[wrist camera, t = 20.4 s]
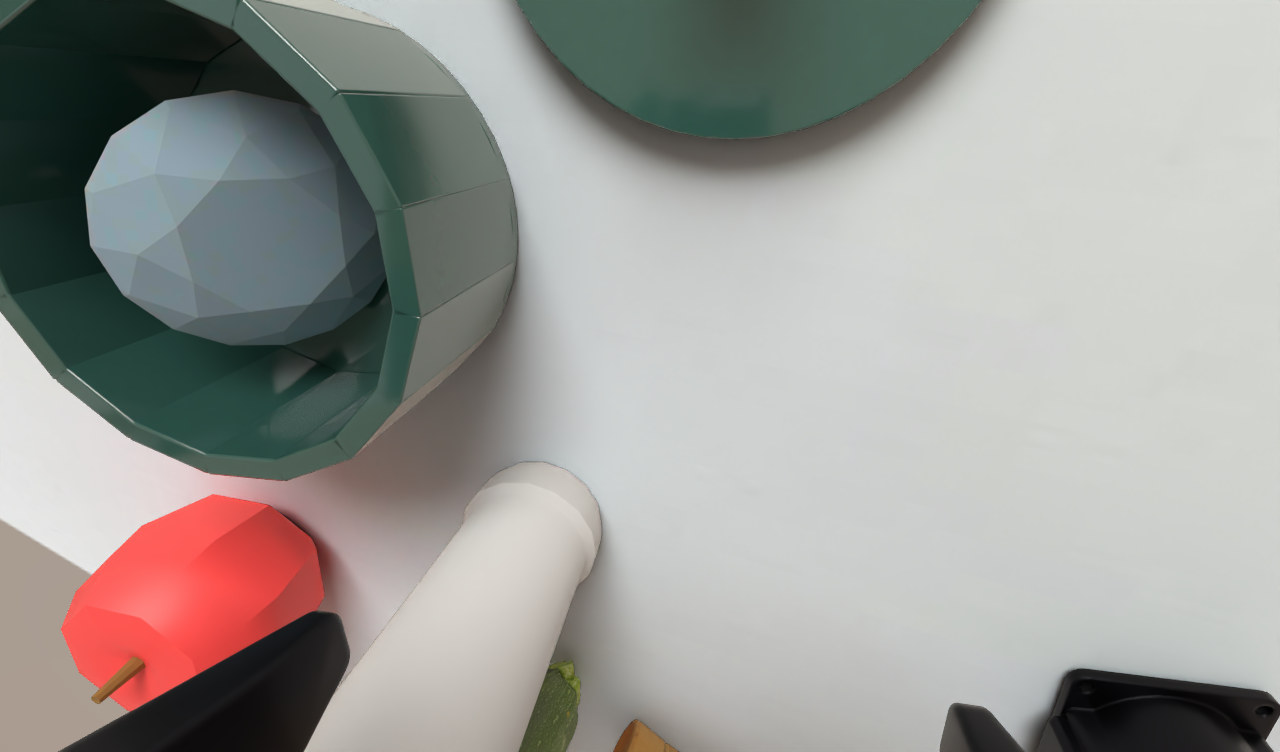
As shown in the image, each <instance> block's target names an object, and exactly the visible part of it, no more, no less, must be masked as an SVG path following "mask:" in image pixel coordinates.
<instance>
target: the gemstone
mask: <svg viewBox="0 0 1280 752" xmlns="http://www.w3.org/2000/svg"><path fill="white" fill-rule="evenodd" d="M85 198H86V208H87V218H88V228H89V238H90V246H91V248H92V249H93V251H94V252H95V254H96V255H97V257H98V258H99V260H100V261H101V263H102V264H103V266H104V267H105V269H106V270H107V272H108V273H109V275H110V276H111V278H112V279H113V281H114V282H115V284H116V285H117V287H118V288H119V290H120V291H121V293H122V294H123V295H124V296H125V297H127V298H128V299H130V300H131V301H133V302H134V303H135V304H137V305H138V306H140V307H141V308H143V309H144V310H146V311H147V312H149V313H150V314H152V315H153V316H155V317H156V318H158V319H159V320H161V321H162V322H163V323H165V324H166V325H168V326H169V327H171V328H172V329H174V330H178V331H181V332H185V333H188V334H192V335H195V336H199V337H202V338H206V339H209V340H213V341H216V342H220V343H223V344H227V345H230V346H233V345H287V344H290V343H293V342H296V341H299V340H302V339H305V338H308V337H312V336H315V335H318V334H321V333H324V332H327V331H330V330H333V329H335V328H336V327H338V326H339V325H340V324H342V323H343V322H344V321H346V320H347V319H348V318H350V317H351V316H353V315H354V314H355V313H357V312H358V311H359V310H361V309H362V308H363V307H365V306H366V305H367V304H369V303H370V302H371V301H372V299H373V298H374V296H375V294H376V293H377V291H378V290H379V288H380V286H381V285H382V283H383V281H384V280H385V278H386V272H385V266H384V261H383V256H382V250H381V245H380V240H379V234H378V229H377V224H376V218H375V213H374V211H373V210H372V208H371V206H370V204H369V202H368V201H367V199H366V197H365V195H364V193H363V192H362V190H361V188H360V186H359V184H358V183H357V181H356V179H355V177H354V175H353V174H352V172H351V170H350V168H349V166H348V165H347V163H346V161H345V159H344V157H343V156H342V154H341V152H340V150H339V148H338V146H337V145H336V143H335V141H334V139H333V137H332V136H331V134H330V132H329V130H328V128H327V127H326V125H325V123H324V121H323V119H322V118H321V116H319V115H318V114H316V113H314V112H313V111H311V110H309V109H308V108H306V107H304V106H303V105H301V104H298V103H294V102H289V101H284V100H279V99H274V98H270V97H265V96H260V95H255V94H250V93H246V92H241V91H236V90H230V91H224V92H217V93H211V94H204V95H198V96H191V97H185V98H179V99H172V100H166V101H164V102H162V103H161V104H159V105H158V106H156V107H155V108H153V109H152V110H150V111H149V112H147V113H145V114H144V115H142V116H141V117H139V118H138V119H136V120H135V121H133V122H132V123H130V124H129V125H127V126H126V127H124V128H123V129H121V130H119V131H118V132H116V133H115V134H113V135H112V136H111V137H110V139H109V141H108V143H107V145H106V147H105V149H104V151H103V153H102V155H101V157H100V159H99V161H98V163H97V165H96V167H95V169H94V171H93V173H92V175H91V177H90V179H89V181H88V183H87V185H86V187H85Z"/></svg>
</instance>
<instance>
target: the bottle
mask: <svg viewBox="0 0 1280 752" xmlns="http://www.w3.org/2000/svg"><path fill="white" fill-rule="evenodd" d="M601 536H602V526H601V519H600V512H599V506H598V503H597V502H596V500H595V498H594V497H593V495H592V494H591V492H590V490H589V489H588V487H587V486H586V485H585V484H584V483H583V482H581V481H580V480H579V479H578V478H576V477H575V476H574V475H573V474H571V473H570V472H569V471H568V470H565V469H562V468H559V467H556V466H554V465H551V464H548V463H545V462H521V463H518V464H516V465H513V466H511V467H508V468H506V469H503V470H501V471H499V472H498V473H496V474H495V475H493V476H492V477H491V478H490V479H489V480H488V481H487V482H486V484H485V485H484V486H483V487H482V488H481V489H480V491H479V492H478V493H477V494H476V495H475V496H474V497H473V499H472V500H471V501H470V502H469V504H468V505H467V506H466V508H465V512H464V517H463V522H462V526H461V527H460V529H459V530H458V531H457V532H456V534H455V535H454V536H453V538H452V539H451V540H450V542H449V543H448V544H447V546H446V547H445V548H444V550H443V551H442V552H441V554H440V555H439V556H438V558H437V559H436V560H435V562H434V563H433V564H432V565H431V567H430V568H429V569H428V571H427V572H426V573H425V575H424V576H423V577H422V579H421V580H420V581H419V583H418V584H417V585H416V587H415V588H414V589H413V591H412V592H411V593H410V595H409V596H408V597H407V598H406V600H405V601H404V602H403V604H402V605H401V606H400V608H399V609H398V610H397V612H396V613H395V614H394V616H393V617H392V618H391V620H390V621H389V622H388V624H387V625H386V626H385V628H384V629H383V630H382V631H381V633H380V634H379V635H378V637H377V638H376V639H375V641H374V642H373V643H372V645H371V646H370V647H369V649H368V650H367V651H366V653H365V654H364V655H363V657H362V658H361V659H360V661H359V662H358V663H357V664H356V666H355V667H354V668H353V670H352V671H351V672H350V674H349V675H348V676H347V678H346V679H345V680H344V682H343V683H342V684H341V686H340V687H339V688H338V690H337V691H336V692H335V694H334V695H333V696H332V698H331V700H330V702H329V704H328V706H327V708H326V710H325V712H324V714H323V716H322V718H321V720H320V722H319V723H318V725H317V727H316V729H315V731H314V733H313V735H312V737H311V739H310V741H309V743H308V745H307V747H306V749H305V751H304V752H518V751H519V748H520V746H521V743H522V740H523V737H524V734H525V731H526V729H527V726H528V723H529V720H530V717H531V715H532V712H533V709H534V706H535V703H536V700H537V698H538V695H539V692H540V689H541V686H542V684H543V681H544V678H545V675H546V672H547V669H548V667H549V664H550V661H551V658H552V655H553V653H554V650H555V647H556V644H557V641H558V638H559V636H560V633H561V630H562V627H563V624H564V622H565V619H566V616H567V613H568V610H569V607H570V605H571V602H572V599H573V596H574V593H575V591H576V588H577V586H578V585H579V584H580V583H581V582H582V581H583V580H584V579H586V578H587V577H588V576H589V574H590V571H591V569H592V566H593V563H594V560H595V557H596V554H597V551H598V548H599V545H600V541H601Z"/></svg>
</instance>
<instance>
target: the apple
mask: <svg viewBox="0 0 1280 752" xmlns="http://www.w3.org/2000/svg"><path fill="white" fill-rule="evenodd" d="M324 596H325V594H324V588H323V583H322V577H321V572H320V566H319V560H318V555H317V549H316V547H315V545H314V542H313V540H312V538H311V537H310V536H308V535H307V534H306V533H305V532H303V531H302V530H301V529H300V528H298V527H297V526H296V525H295V524H293V523H292V522H291V521H290V520H288V519H287V518H286V517H284V516H283V515H282V514H281V513H279V512H278V511H277V510H275V509H274V508H273V507H271V506H270V505H266V504H261V503H256V502H250V501H245V500H240V499H235V498H230V497H225V496H219V495H214V494H213V495H210V496H208V497H206V498H204V499H201V500H199V501H197V502H195V503H192V504H190V505H188V506H186V507H183V508H181V509H179V510H176V511H174V512H172V513H170V514H167V515H165V516H163V517H161V518H158V519H156V520H154V521H151V522H149V523H147V524H145V525H142V526H141V527H140V528H139V529H138V530H137V531H136V532H135V533H134V534H133V535H132V536H131V537H130V538H129V539H128V540H127V541H126V542H125V543H124V544H123V545H122V546H121V547H120V548H119V549H118V550H116V551H115V552H114V553H113V554H112V555H111V556H110V557H109V558H108V559H107V560H106V561H105V562H104V563H103V564H102V565H101V566H100V567H99V568H98V569H97V570H96V572H95V573H94V574H93V575H92V576H91V577H90V578H89V579H88V580H87V581H86V582H85V583H84V584H83V585H82V586H81V587H80V588H79V589H78V590H77V591H76V593H75V595H74V598H73V600H72V603H71V605H70V608H69V610H68V613H67V615H66V618H65V621H64V623H63V626H62V628H61V630H62V633H63V635H64V637H65V640H66V642H67V644H68V647H69V649H70V651H71V654H72V656H73V659H74V661H75V663H76V666H77V668H78V670H79V673H80V674H82V675H83V676H84V677H86V678H87V679H88V680H89V681H91V682H92V683H94V685H96V686H97V687H98V688H99V690H98V691H97V692H96V693H95V694H94V695H93V696H92V700H93V701H94V702H95V703H97V704H100V703H101V702H102V701H103V700H105V699H106V698H107V697H108V696H110V697H111V698H112V699H114V700H115V701H116V702H117V703H118V704H120V705H121V706H122V707H124V708H125V709H126V710H128V711H132V710H134V709H136V708H138V707H139V706H141V705H143V704H145V703H147V702H148V701H150V700H152V699H154V698H156V697H157V696H159V695H161V694H163V693H165V692H166V691H168V690H170V689H172V688H174V687H175V686H177V685H179V684H181V683H183V682H184V681H186V680H188V679H190V678H192V677H193V676H195V675H197V674H199V673H201V672H202V671H204V670H206V669H208V668H210V667H211V666H213V665H215V664H217V663H219V662H220V661H222V660H224V659H226V658H228V657H229V656H231V655H233V654H235V653H237V652H238V651H240V650H242V649H244V648H246V647H247V646H249V645H251V644H253V643H255V642H256V641H258V640H260V639H262V638H264V637H265V636H267V635H269V634H271V633H273V632H274V631H276V630H278V629H280V628H282V627H283V626H285V625H287V624H289V623H291V622H292V621H294V620H296V619H298V618H300V617H301V616H303V615H305V614H307V613H309V612H312V611H316V610H317V608H318V607H319V605H320V603H321V602H322V600H323V598H324Z"/></svg>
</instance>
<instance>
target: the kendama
mask: <svg viewBox="0 0 1280 752" xmlns="http://www.w3.org/2000/svg"><path fill="white" fill-rule="evenodd" d="M613 752H678V751H677V750H676V749H674V748H673V747H671V746H670V745H668V744H667V743H664V741H663V740H662V739H661V738H660V737H659V736H657V735H656V734H655V733H654V732H652V731H651V730H650V729H649V728H648V727H647V726H645V725H644V724H643V723H641V722H640V721H638V720H637V719H636V720H634V721H633V722H631V723H630V724H629V726H628V727H627V728H626V730H625V731H624V732H623V734H622V736H621V737H620V739H619V741H618V743H617V745H616V747H615V749H614V751H613Z"/></svg>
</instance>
